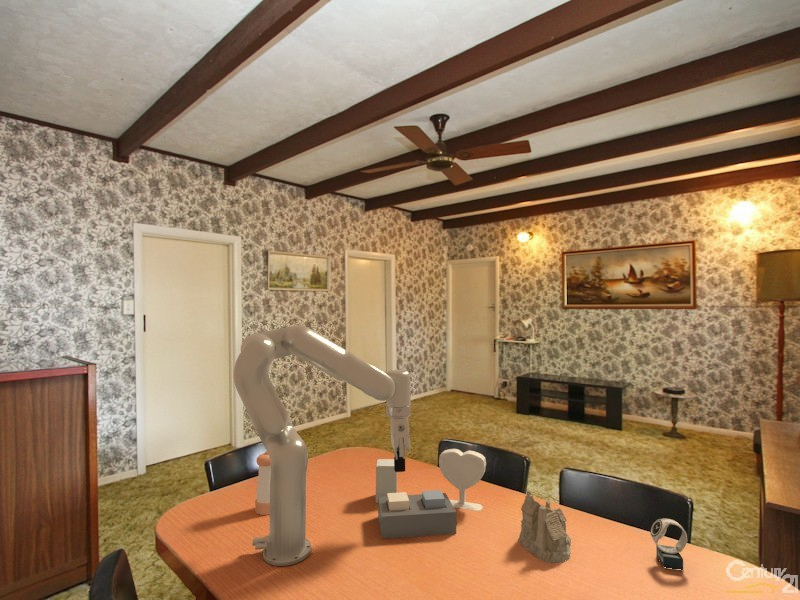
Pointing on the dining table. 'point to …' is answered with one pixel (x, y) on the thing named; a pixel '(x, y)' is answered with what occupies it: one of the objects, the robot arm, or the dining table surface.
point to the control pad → (416, 519)
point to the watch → (668, 553)
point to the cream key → (397, 501)
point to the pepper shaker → (263, 484)
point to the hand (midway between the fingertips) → (399, 470)
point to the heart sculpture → (462, 473)
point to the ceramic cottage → (544, 531)
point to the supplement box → (385, 478)
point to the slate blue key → (433, 499)
